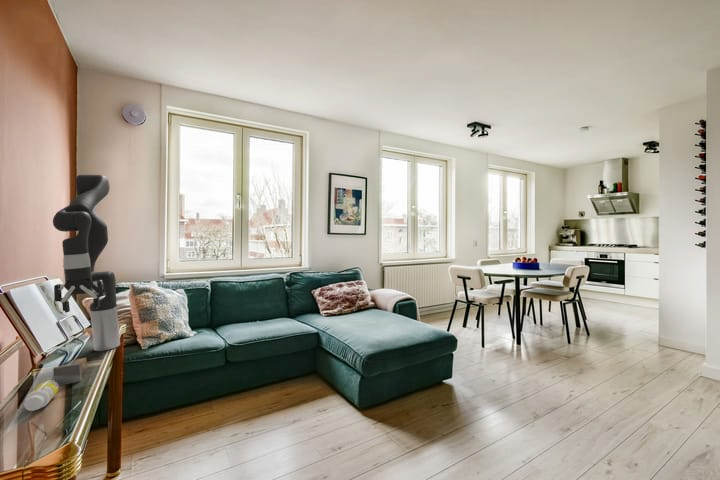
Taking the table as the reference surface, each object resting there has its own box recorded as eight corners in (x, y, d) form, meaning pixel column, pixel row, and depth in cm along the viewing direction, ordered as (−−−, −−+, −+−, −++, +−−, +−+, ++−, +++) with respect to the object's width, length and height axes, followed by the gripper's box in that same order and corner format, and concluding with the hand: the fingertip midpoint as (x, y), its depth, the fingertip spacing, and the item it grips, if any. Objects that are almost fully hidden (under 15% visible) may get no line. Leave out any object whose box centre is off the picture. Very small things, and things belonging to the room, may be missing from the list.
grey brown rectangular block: (70, 370, 125) (69, 354, 124) (94, 366, 127) (92, 351, 127) (54, 386, 113) (52, 368, 112) (80, 381, 115) (79, 364, 115)
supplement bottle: (34, 397, 104) (18, 414, 94) (38, 379, 104) (22, 394, 95) (57, 397, 106) (43, 413, 97) (61, 379, 106) (47, 394, 97)
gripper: (104, 263, 129) (108, 305, 130) (57, 267, 124) (61, 310, 125) (97, 265, 122) (102, 309, 123) (47, 269, 117) (52, 315, 118)
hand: (81, 310), depth 124 cm, fingers open, 8 cm apart
